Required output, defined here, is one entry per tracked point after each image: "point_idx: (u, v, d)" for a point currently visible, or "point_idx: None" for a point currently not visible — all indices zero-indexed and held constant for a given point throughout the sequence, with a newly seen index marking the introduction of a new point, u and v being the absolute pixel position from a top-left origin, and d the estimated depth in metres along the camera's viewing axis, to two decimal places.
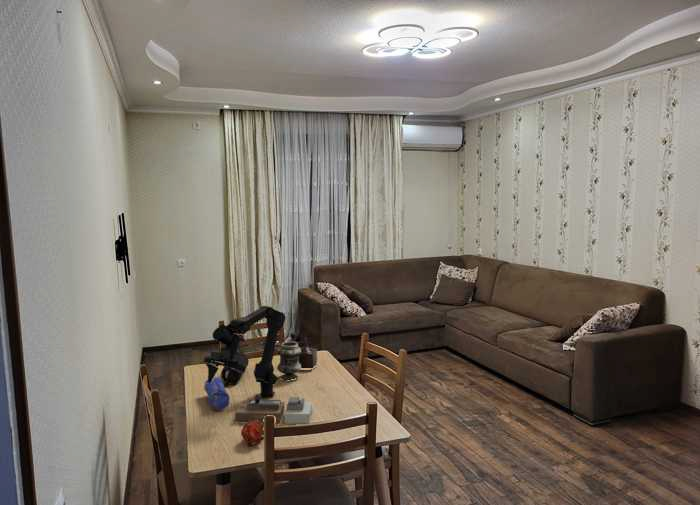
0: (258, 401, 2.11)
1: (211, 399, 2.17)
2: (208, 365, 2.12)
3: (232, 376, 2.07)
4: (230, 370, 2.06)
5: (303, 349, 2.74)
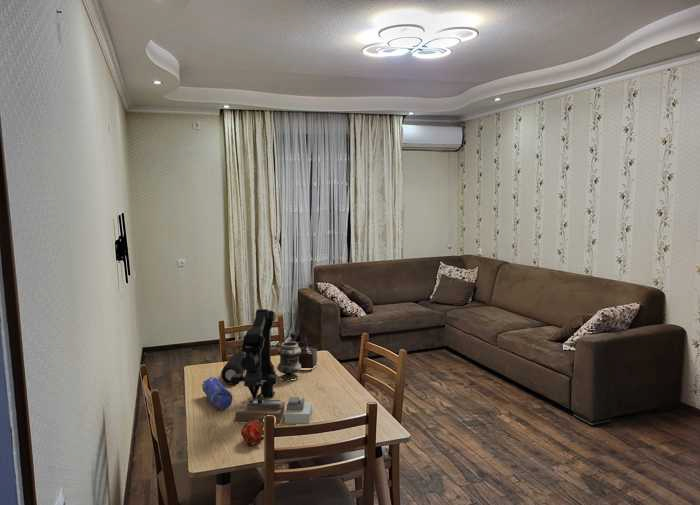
0: (261, 401, 2.11)
1: (214, 399, 2.17)
2: (249, 386, 2.09)
3: None
4: (257, 386, 2.09)
5: (303, 349, 2.74)
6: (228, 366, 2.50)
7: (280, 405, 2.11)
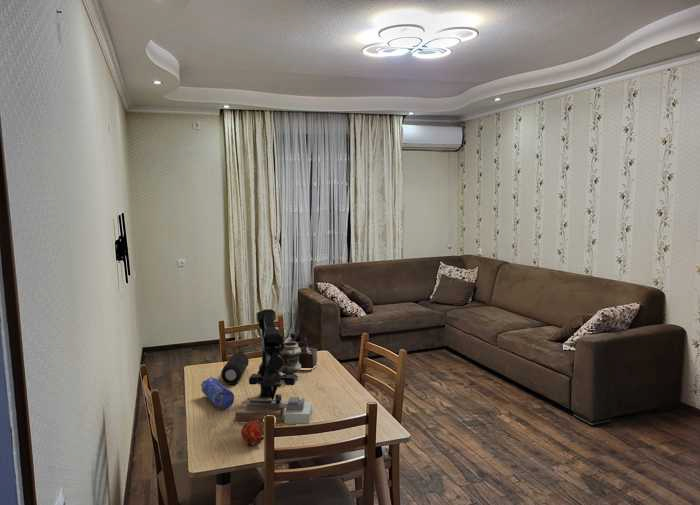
0: (279, 401, 2.11)
1: (217, 399, 2.17)
2: (268, 386, 2.09)
3: None
4: (276, 387, 2.09)
5: (303, 349, 2.74)
6: (228, 366, 2.49)
7: None
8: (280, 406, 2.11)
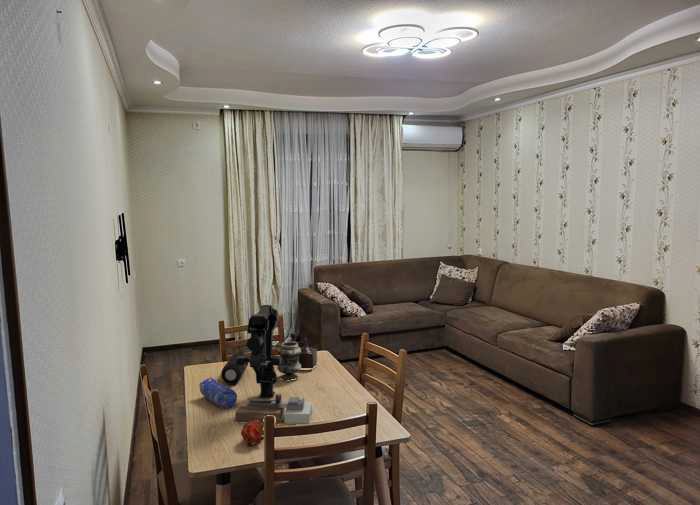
0: (279, 401, 2.11)
1: (220, 398, 2.18)
2: (254, 367, 2.16)
3: (262, 369, 2.19)
4: (262, 367, 2.16)
5: (303, 349, 2.74)
6: (228, 366, 2.49)
7: None
8: (280, 406, 2.11)
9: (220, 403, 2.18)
